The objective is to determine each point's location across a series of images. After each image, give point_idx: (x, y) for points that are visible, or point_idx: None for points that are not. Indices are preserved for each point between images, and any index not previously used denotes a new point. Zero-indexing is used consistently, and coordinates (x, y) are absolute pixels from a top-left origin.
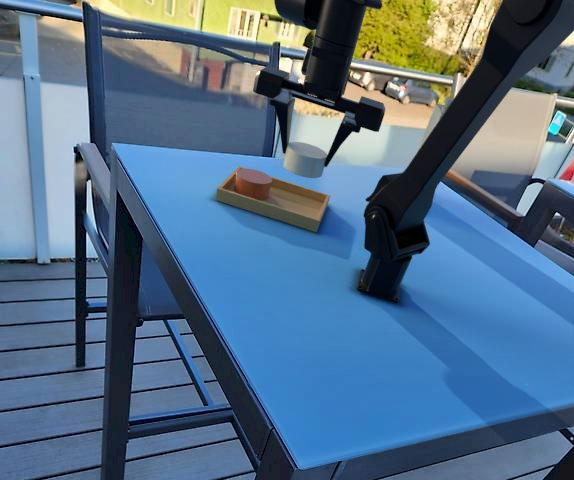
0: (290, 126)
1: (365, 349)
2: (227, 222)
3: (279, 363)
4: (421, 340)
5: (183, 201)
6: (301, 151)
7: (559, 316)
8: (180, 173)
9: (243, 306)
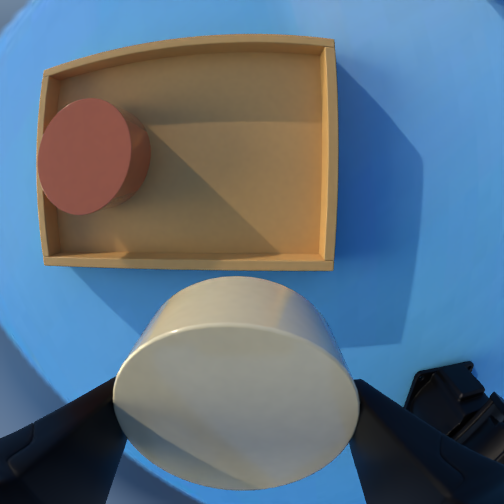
0: (64, 452)
1: None
2: (123, 345)
3: None
4: None
5: (33, 306)
6: (213, 467)
7: None
8: None
9: (245, 500)
